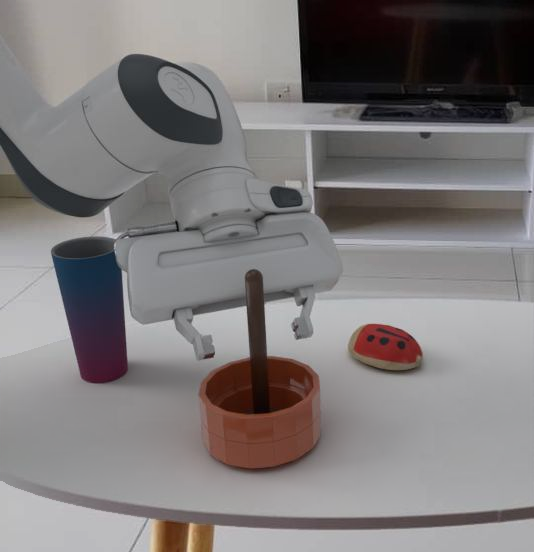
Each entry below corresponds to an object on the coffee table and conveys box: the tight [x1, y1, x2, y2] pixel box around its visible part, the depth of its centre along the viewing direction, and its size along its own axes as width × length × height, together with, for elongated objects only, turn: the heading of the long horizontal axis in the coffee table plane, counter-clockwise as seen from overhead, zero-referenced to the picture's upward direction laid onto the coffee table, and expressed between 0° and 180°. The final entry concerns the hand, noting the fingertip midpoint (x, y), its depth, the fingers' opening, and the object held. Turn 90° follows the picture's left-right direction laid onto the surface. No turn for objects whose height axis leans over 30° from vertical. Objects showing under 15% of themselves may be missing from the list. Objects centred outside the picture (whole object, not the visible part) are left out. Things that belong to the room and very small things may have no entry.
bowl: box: [198, 355, 322, 469], centre depth 72 cm, size 11×11×6 cm
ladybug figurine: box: [347, 323, 424, 371], centre depth 88 cm, size 7×10×4 cm
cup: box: [50, 235, 129, 384], centre depth 82 cm, size 7×7×15 cm
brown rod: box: [244, 269, 280, 415], centre depth 70 cm, size 4×4×17 cm
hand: (257, 347), depth 69 cm, fingers open, 8 cm apart
